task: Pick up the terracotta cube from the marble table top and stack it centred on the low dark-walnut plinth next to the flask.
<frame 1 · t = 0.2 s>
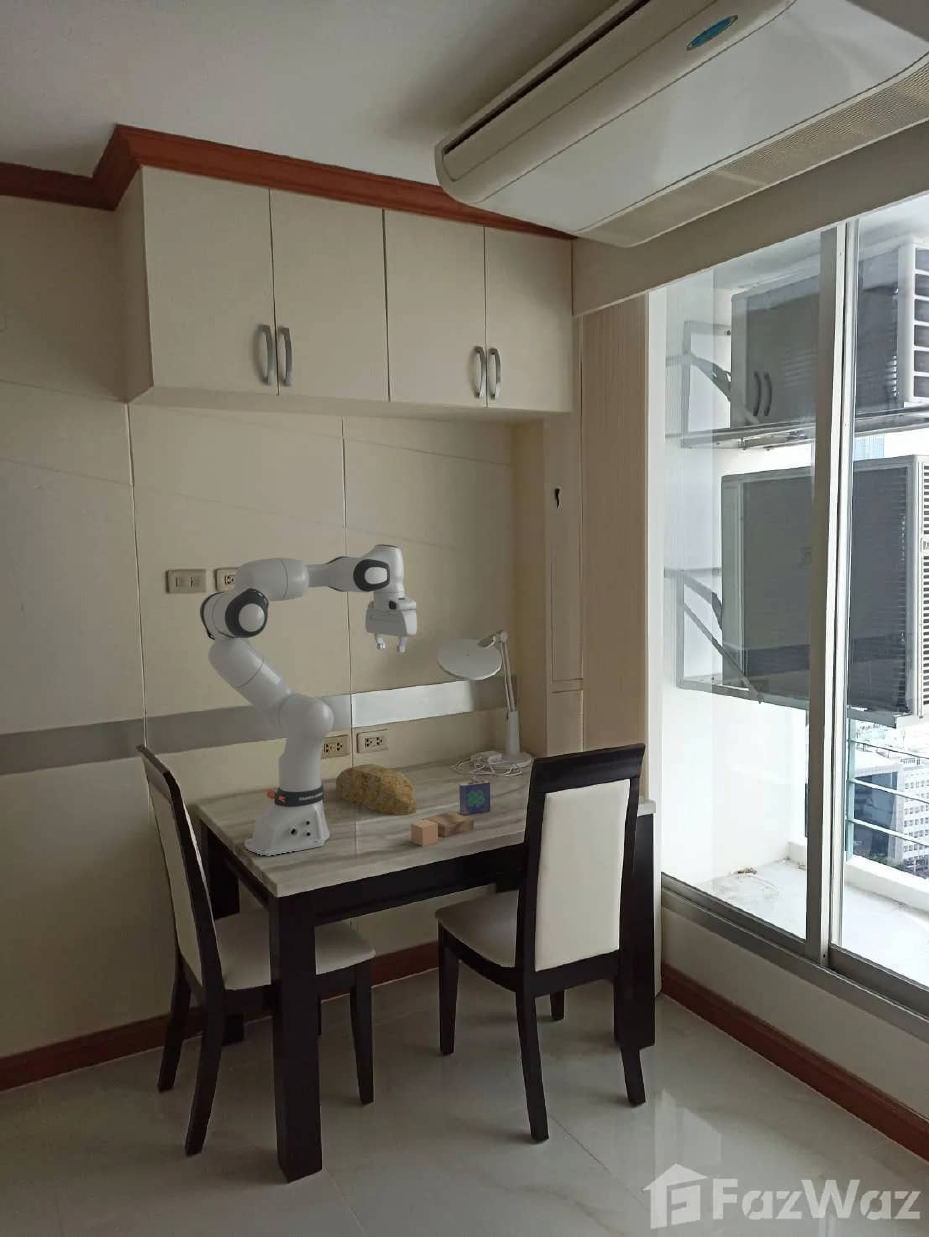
hand: (391, 650, 262), 47 cm above the table, fingers open, 8 cm apart
flask: (475, 813, 266), on the table
bread: (375, 802, 280), on the table
terracotta block: (424, 841, 243), on the table
walnut plinth: (447, 828, 253), on the table
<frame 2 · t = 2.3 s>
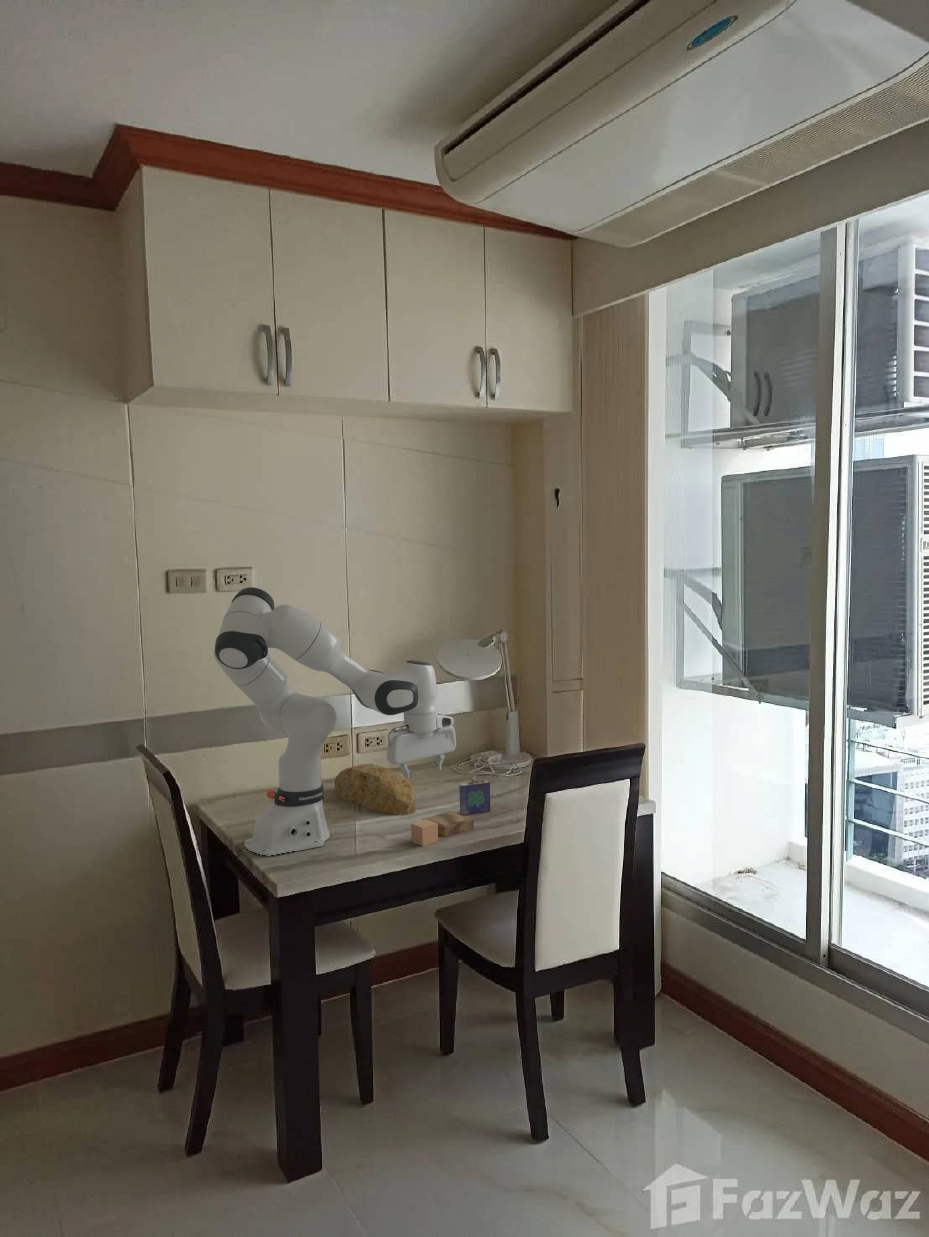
hand: (422, 774, 241), 18 cm above the table, fingers open, 8 cm apart
nothing on the table moved.
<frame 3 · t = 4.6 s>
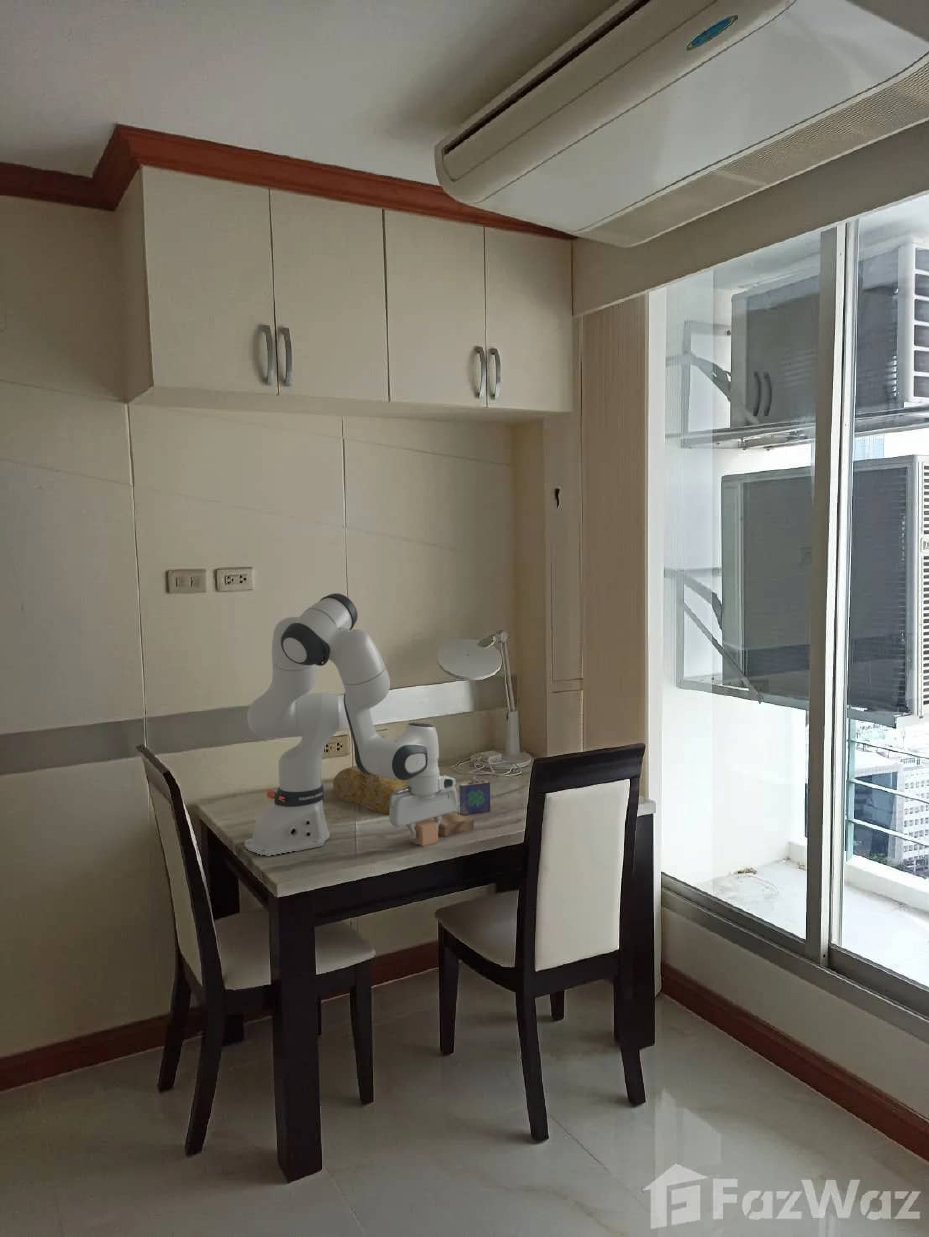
hand: (424, 835, 243), 2 cm above the table, fingers closed on terracotta block, 5 cm apart
terracotta block: (424, 841, 243), on the table, touching gripper
everything else where it was.
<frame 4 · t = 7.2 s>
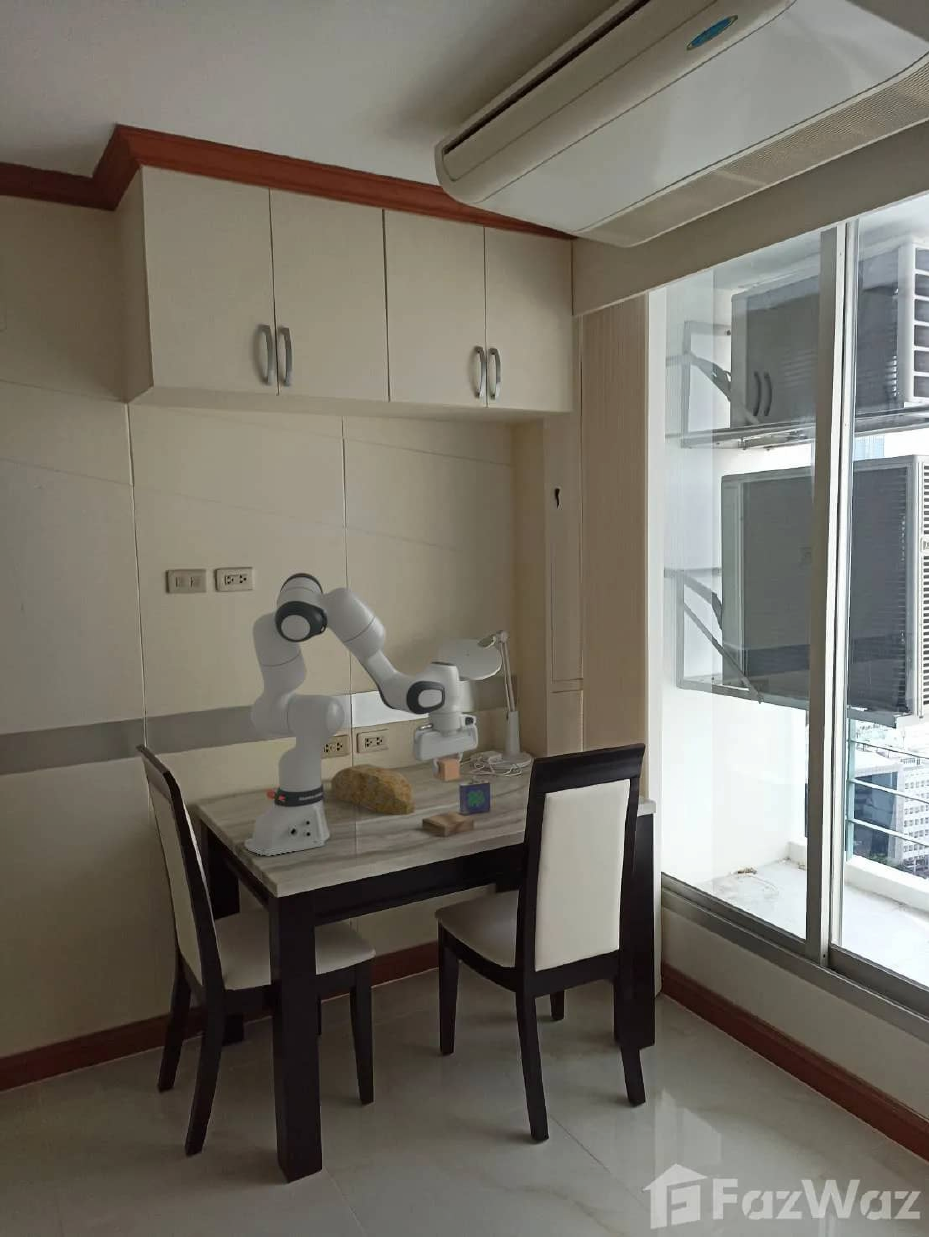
hand: (446, 770, 251), 16 cm above the table, fingers closed on terracotta block, 5 cm apart
terracotta block: (446, 777, 251), point 14 cm above the table, touching gripper
everything else where it was.
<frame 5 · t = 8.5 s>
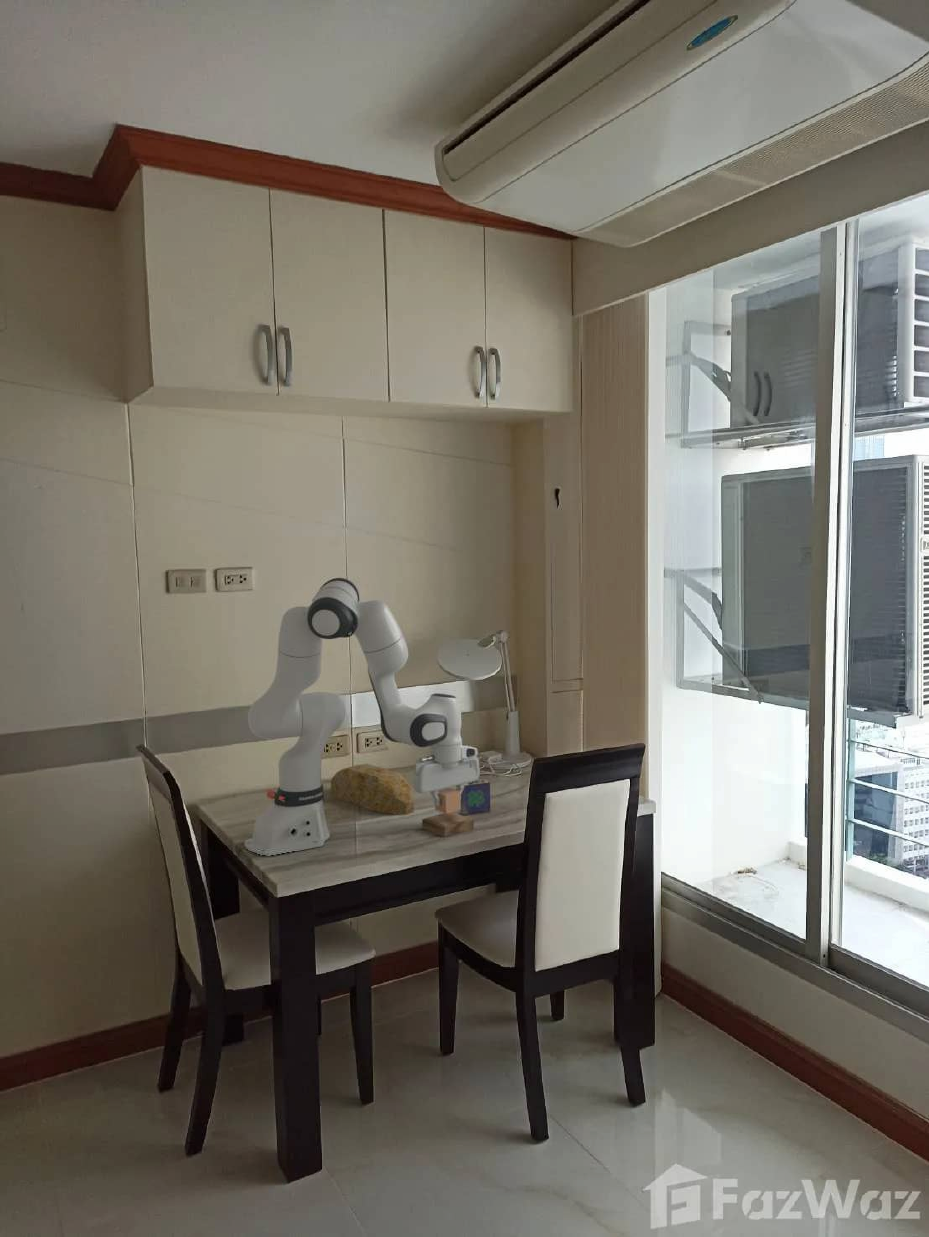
hand: (447, 802, 251), 7 cm above the table, fingers closed on terracotta block, 5 cm apart
terracotta block: (447, 809, 251), point 6 cm above the table, touching gripper
when the fingers open (6 cm above the table, at t = 9.7 s): terracotta block drops 1 cm, resting on walnut plinth.
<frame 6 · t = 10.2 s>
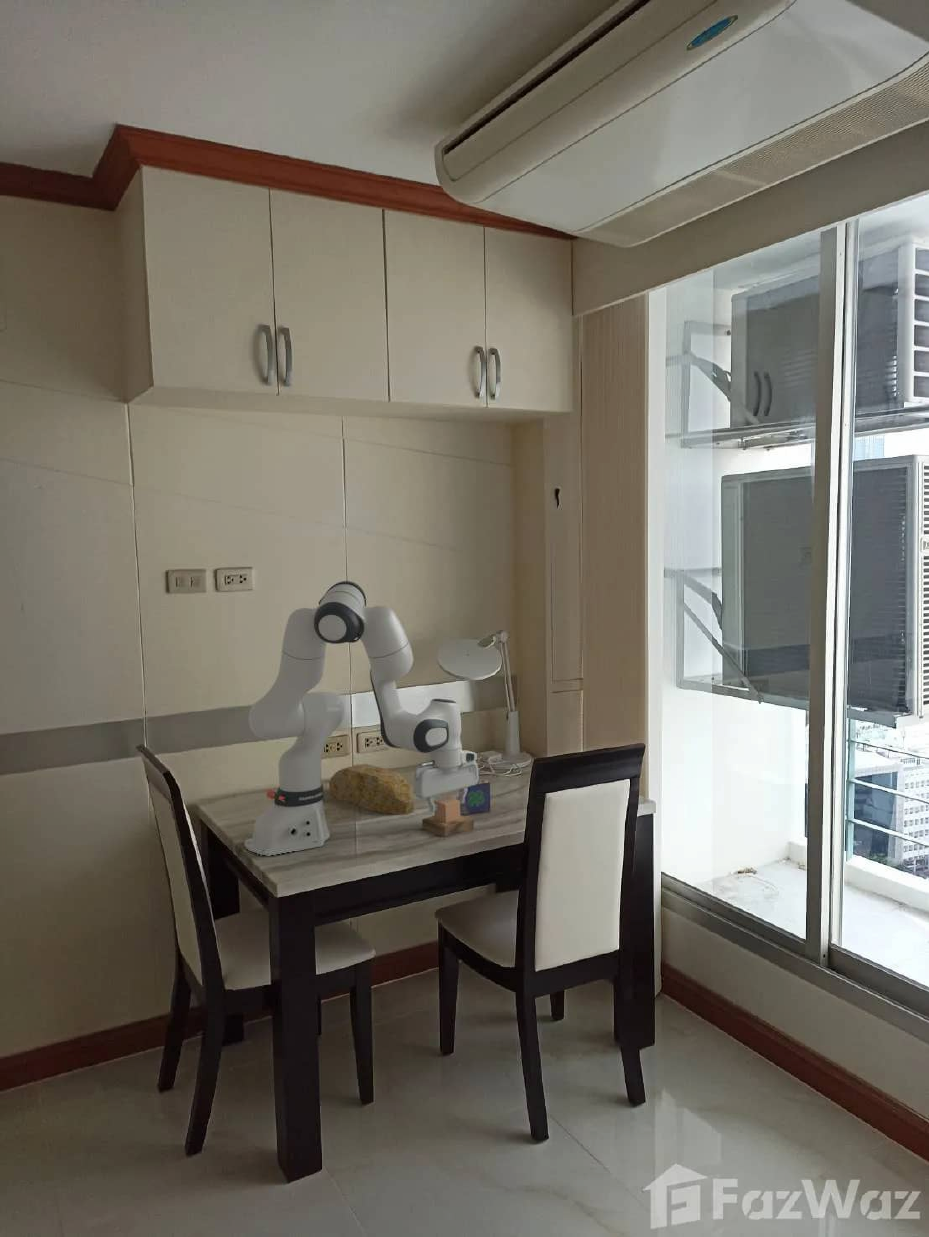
hand: (447, 807, 252), 6 cm above the table, fingers open, 8 cm apart
terracotta block: (447, 818, 253), point 3 cm above the table, touching walnut plinth
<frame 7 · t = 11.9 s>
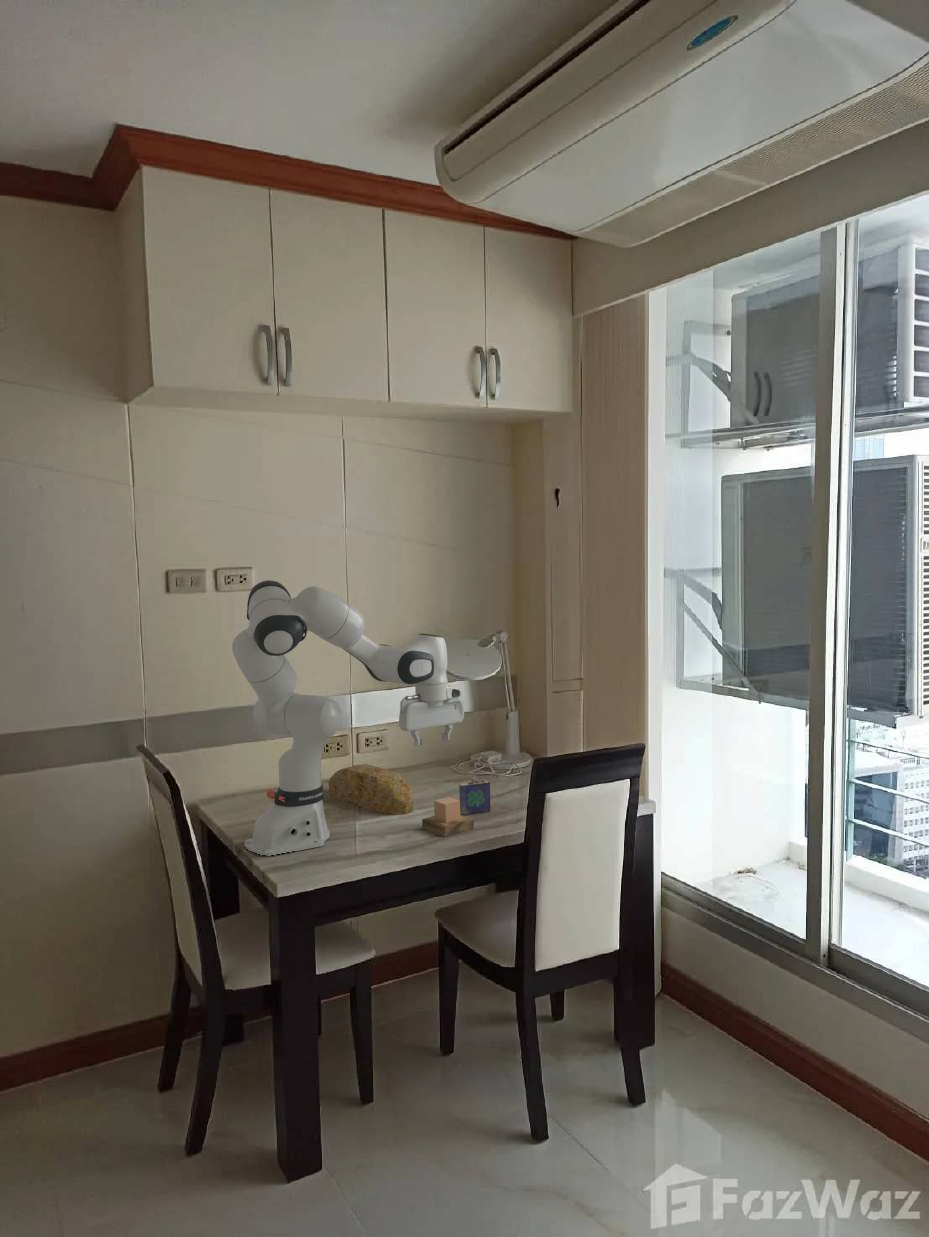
hand: (432, 742, 253), 23 cm above the table, fingers open, 8 cm apart
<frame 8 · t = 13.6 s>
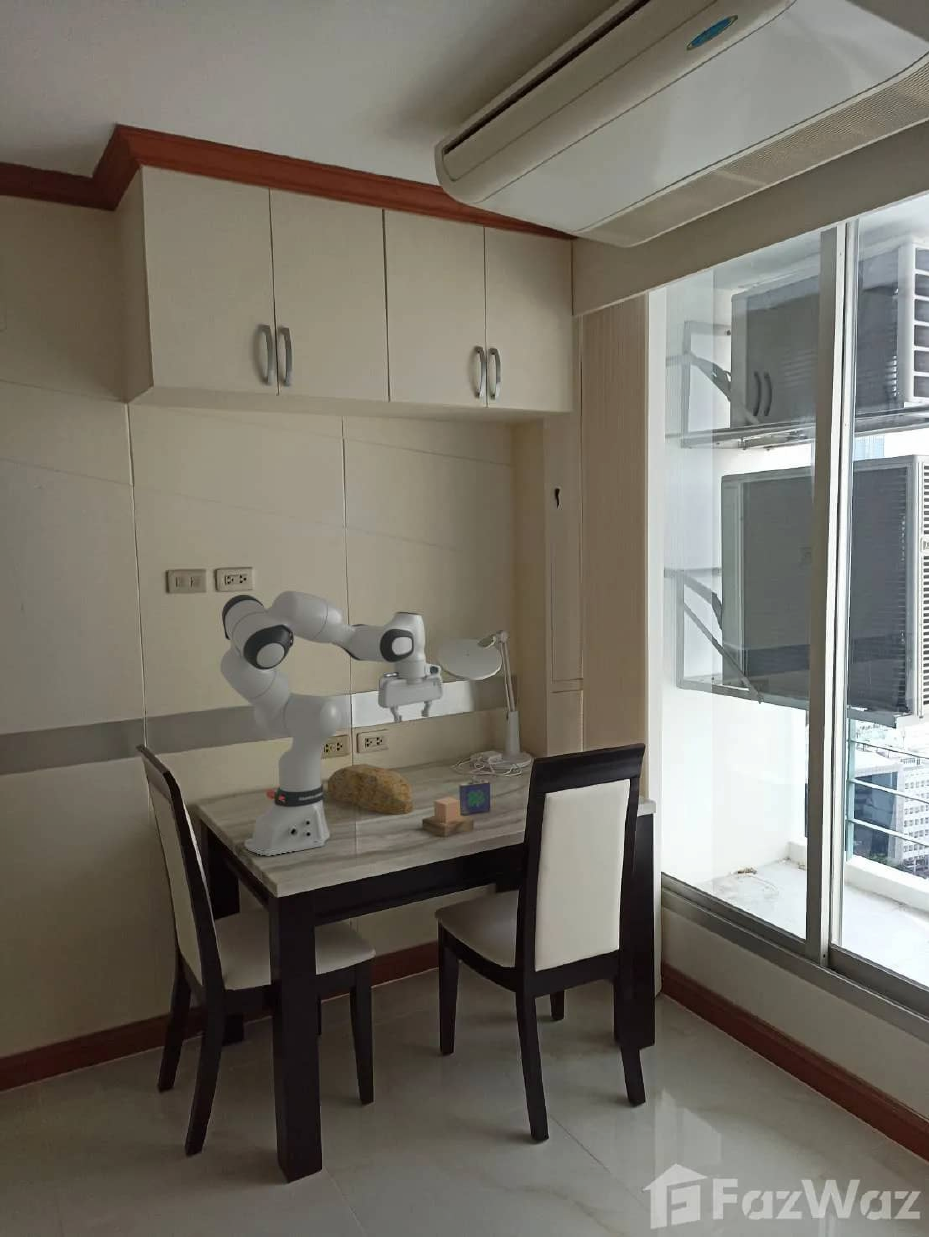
hand: (411, 719, 256), 29 cm above the table, fingers open, 8 cm apart
at the end: terracotta block inside the target area on the walnut plinth (0.1 cm from its centre), point 2.7 cm above the walnut plinth's base; terracotta block tilted 0°; the gripper is holding nothing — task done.
